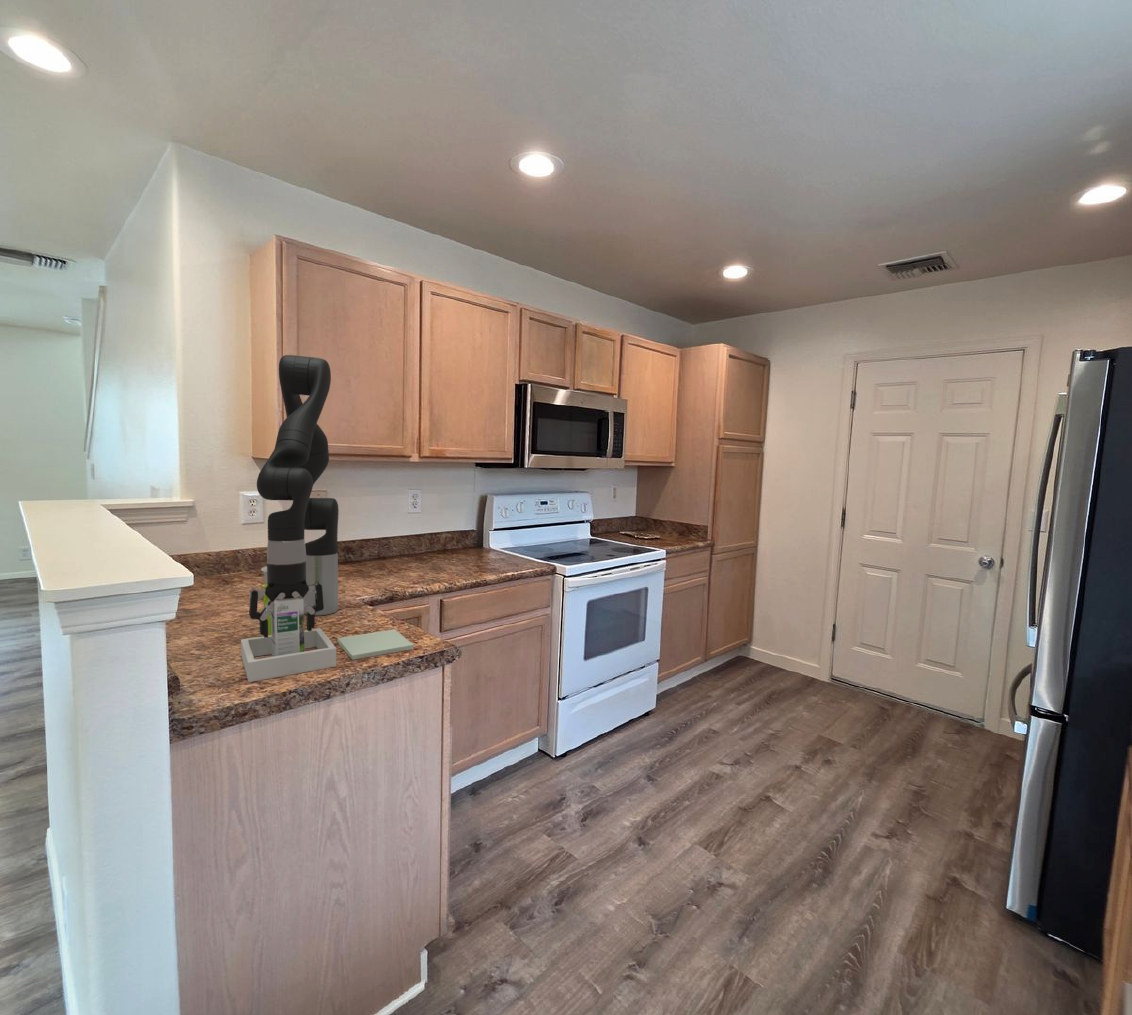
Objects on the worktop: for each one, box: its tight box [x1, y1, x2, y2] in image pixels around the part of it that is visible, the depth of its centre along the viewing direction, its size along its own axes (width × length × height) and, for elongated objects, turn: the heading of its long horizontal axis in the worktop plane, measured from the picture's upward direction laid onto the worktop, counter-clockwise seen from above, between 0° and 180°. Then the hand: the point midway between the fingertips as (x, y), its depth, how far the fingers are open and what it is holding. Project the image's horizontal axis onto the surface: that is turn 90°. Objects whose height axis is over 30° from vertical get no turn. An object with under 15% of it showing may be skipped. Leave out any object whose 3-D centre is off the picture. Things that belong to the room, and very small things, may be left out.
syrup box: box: [271, 598, 305, 657], centre depth 118 cm, size 6×6×14 cm
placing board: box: [337, 628, 415, 661], centre depth 130 cm, size 14×14×1 cm
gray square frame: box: [240, 627, 337, 683], centre depth 118 cm, size 16×16×4 cm
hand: (287, 633), depth 118 cm, fingers open, 8 cm apart
